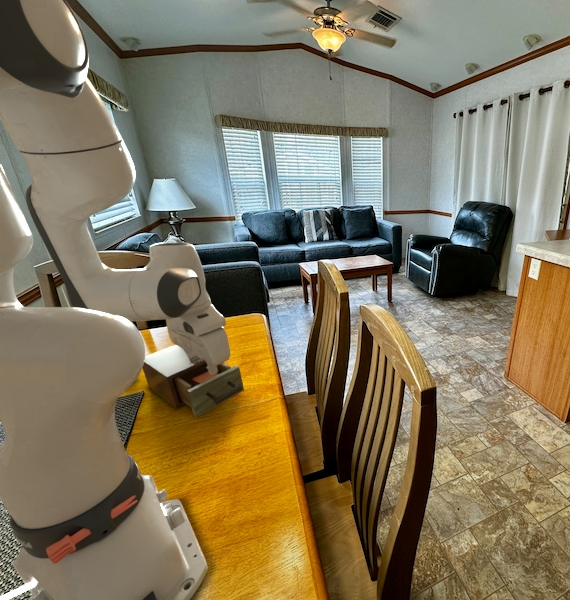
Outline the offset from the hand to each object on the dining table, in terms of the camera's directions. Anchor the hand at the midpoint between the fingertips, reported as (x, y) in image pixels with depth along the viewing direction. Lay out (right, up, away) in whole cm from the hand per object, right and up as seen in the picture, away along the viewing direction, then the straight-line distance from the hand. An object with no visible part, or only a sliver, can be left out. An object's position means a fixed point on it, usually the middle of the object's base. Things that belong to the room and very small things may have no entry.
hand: (204, 368), depth 77 cm
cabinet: (-9, -6, +9) cm, 15 cm away
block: (0, -6, +3) cm, 7 cm away
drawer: (0, -8, +3) cm, 8 cm away
